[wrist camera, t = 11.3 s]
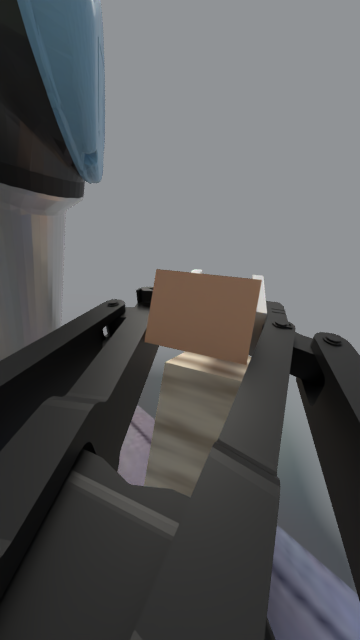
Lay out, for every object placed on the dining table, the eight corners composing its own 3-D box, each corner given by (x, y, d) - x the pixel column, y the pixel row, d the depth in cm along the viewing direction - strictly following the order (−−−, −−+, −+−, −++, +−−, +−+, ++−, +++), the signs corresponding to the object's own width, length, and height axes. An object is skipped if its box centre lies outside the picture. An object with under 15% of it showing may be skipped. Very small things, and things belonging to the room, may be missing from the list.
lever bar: (246, 365, 7) (262, 279, 7) (144, 342, 8) (156, 269, 8) (237, 333, 35) (240, 317, 35) (216, 329, 37) (219, 313, 36)
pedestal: (209, 697, 18) (265, 387, 17) (119, 630, 21) (165, 362, 20) (222, 515, 35) (250, 356, 35) (172, 492, 38) (197, 345, 37)
